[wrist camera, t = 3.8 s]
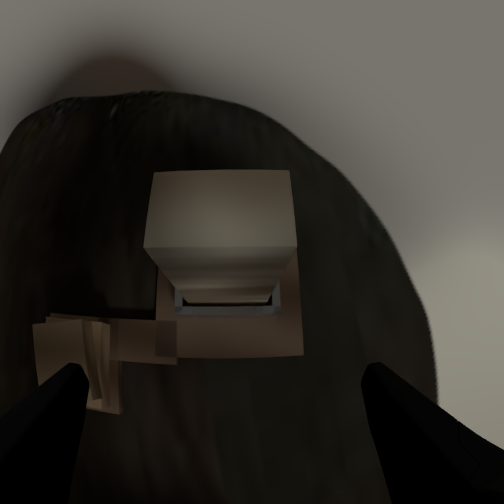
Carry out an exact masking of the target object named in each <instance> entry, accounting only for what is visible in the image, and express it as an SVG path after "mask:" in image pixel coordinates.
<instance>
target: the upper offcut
mask: <svg viewBox="0 0 504 504" xmlns="http://www.w3.org/2000/svg"><path fill="white" fill-rule="evenodd" d="M33 339H34V351H35V360H36V369H37V376H38V383H39V386H40V385H41V384H42V383H43V382H45V381H46V380H47V379H48V378H50V377H51V376H52V375H54V374H55V373H56V372H57V371H59V370H60V369H61V368H62V367H64V366H65V365H66V364H68V363H77V364H80V365H81V366H82V368H83V370H84V372H85V374H86V376H87V378H88V380H89V384H90V387H89V393H88V399H87V401H93V400H97V399H101V398H103V397H102V392H101V387H100V381H99V375H98V369H97V362H96V355H95V347H94V339H93V330H92V322H89V321H86V320H83V319H77V320H68V321H60V322H51V323H41V324H33Z"/></svg>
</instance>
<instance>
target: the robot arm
mask: <svg viewBox="0 0 504 504" xmlns="http://www.w3.org/2000/svg"><path fill="white" fill-rule="evenodd" d="M89 387H90V384H89V380H88V378H87V376H86V374H85V372H84V370H83V368H82V366H81V365H80V364H77V363H68V364H66V365H65V366H64V367H62V368H61V369H60V370H59V371H57V372H56V373H55V374H54V375H52V376H51V377H50V378H48V379H47V380H46V381H45V382H43V383H42V384H41V385H40V386H38V387H37V388H36V389H35V390H33V391H32V392H31V393H30V394H28V395H27V396H26V397H25V398H23V399H22V400H21V401H20V402H18V403H17V404H16V405H15V406H14V407H12V408H11V409H10V410H9V411H7V412H6V413H5V414H4V415H2V416H1V417H0V504H68V500H69V493H70V487H71V481H72V476H73V471H74V465H75V461H76V456H77V451H78V447H79V442H80V438H81V434H82V430H83V425H84V419H85V412H86V405H87V399H88V393H89ZM361 388H362V393H363V398H364V403H365V408H366V413H367V418H368V423H369V427H370V430H371V434H372V437H373V440H374V443H375V446H376V450H377V453H378V456H379V459H380V463H381V466H382V470H383V473H384V477H385V480H386V484H387V487H388V491H389V494H390V498H391V502H392V504H504V450H503V449H501V448H499V447H498V446H496V445H494V444H492V443H491V442H489V441H487V440H486V439H484V438H482V437H481V436H479V435H477V434H476V433H475V432H473V431H472V430H470V429H469V428H468V427H466V426H465V425H463V424H462V423H461V422H459V421H457V420H456V419H455V418H454V417H453V416H451V415H450V414H449V413H447V412H446V411H445V410H443V409H442V408H441V407H439V406H438V405H437V404H435V403H434V402H433V401H431V400H430V399H429V398H427V397H426V396H425V395H423V394H422V393H421V392H420V391H418V390H417V389H416V388H414V387H413V386H412V385H410V384H409V383H408V382H406V381H405V380H404V379H402V378H401V377H400V376H398V375H397V374H396V373H395V372H393V371H392V370H391V369H389V368H388V367H387V366H385V365H384V364H383V363H381V362H376V363H370V364H369V365H368V366H367V368H366V370H365V373H364V375H363V378H362V381H361Z"/></svg>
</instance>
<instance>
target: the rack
mask: <svg viewBox="0 0 504 504" xmlns="http://www.w3.org/2000/svg"><path fill="white" fill-rule="evenodd" d="M50 317H53V318H62V319H71V320H77V319H83V320H86V321H93V322H102V323H106V324H109V325H110V351H109V377H110V406H111V407H108V408H105V409H96V408H91V407H86V408H87V409H92V410H97V411H102V412H108V413H114V414H122V413H124V412H123V389H122V361H130V362H142V363H156V364H174V365H178V364H179V357H180V358H261V357H283V356H298V355H304V353H303V333H302V316H301V300H300V286H299V273H298V261H297V249H295V251H294V253H293V255H292V257H291V259H290V261H289V263H288V264H287V266H286V268H285V270H284V272H283V274H282V276H281V277H280V279H279V281H278V283H277V285H276V287H275V289H274V290H273V292H272V294H271V296H270V298H269V300H268V301H267V303H266V305H265V306H237V307H191V306H190V305H189V303H188V302H187V301H186V300H185V299H184V298H183V296H182V295H181V294H180V293H179V292H178V290H177V289H176V288H175V287H174V286H173V284H172V283H171V282H170V281H169V279H168V278H167V277H166V276H165V274H164V273H163V272H162V271H161V269H160V268H159V267H158V281H157V300H156V320H136V319H117V318H102V317H89V316H78V315H67V314H57V313H50Z"/></svg>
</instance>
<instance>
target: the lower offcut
mask: <svg viewBox="0 0 504 504" xmlns="http://www.w3.org/2000/svg"><path fill="white" fill-rule="evenodd" d="M68 320H71V319H62V318H53V317H46V323H51V322H60V321H68ZM89 322H92V330H93V339H94V347H95V355H96V362H97V369H98V375H99V381H100V387H101V392H102V397H103V398H101V399H97V400H93V401H87V405H86V407H91V408H96V409H105V408H108V407H111V406H110V377H109V351H110V325H109V324H106V323H102V322H93V321H89Z"/></svg>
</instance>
